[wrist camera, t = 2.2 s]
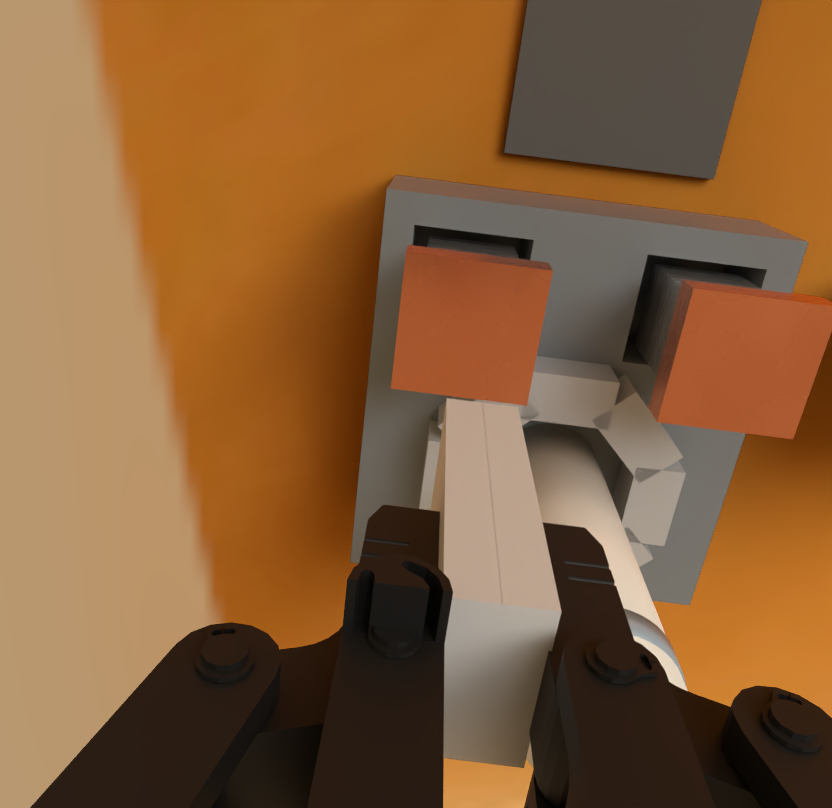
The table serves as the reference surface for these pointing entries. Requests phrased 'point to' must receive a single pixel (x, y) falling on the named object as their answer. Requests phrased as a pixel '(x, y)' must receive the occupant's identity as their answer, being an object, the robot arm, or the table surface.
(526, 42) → the mat
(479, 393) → the plunger
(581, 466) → the cartridge
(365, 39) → the table surface
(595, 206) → the housing
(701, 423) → the plunger
